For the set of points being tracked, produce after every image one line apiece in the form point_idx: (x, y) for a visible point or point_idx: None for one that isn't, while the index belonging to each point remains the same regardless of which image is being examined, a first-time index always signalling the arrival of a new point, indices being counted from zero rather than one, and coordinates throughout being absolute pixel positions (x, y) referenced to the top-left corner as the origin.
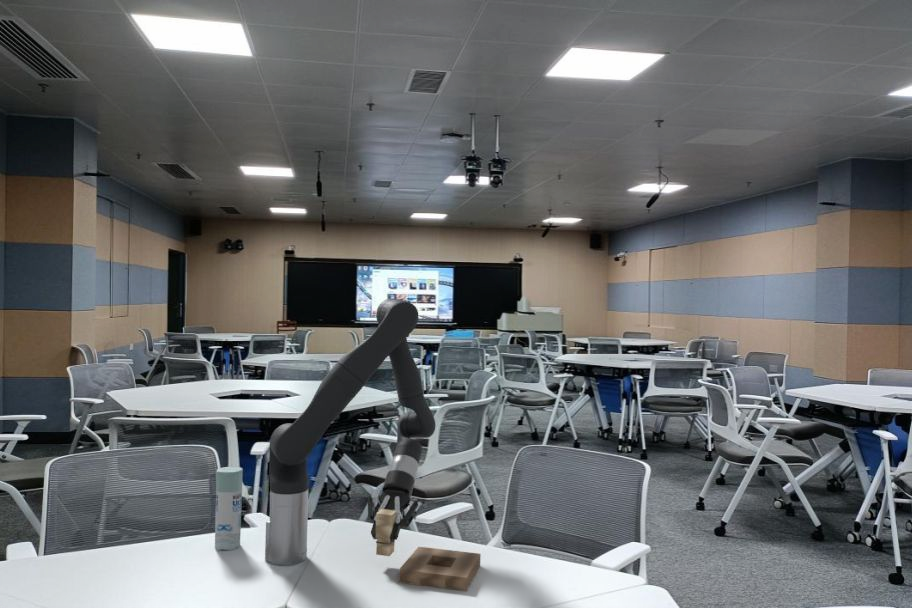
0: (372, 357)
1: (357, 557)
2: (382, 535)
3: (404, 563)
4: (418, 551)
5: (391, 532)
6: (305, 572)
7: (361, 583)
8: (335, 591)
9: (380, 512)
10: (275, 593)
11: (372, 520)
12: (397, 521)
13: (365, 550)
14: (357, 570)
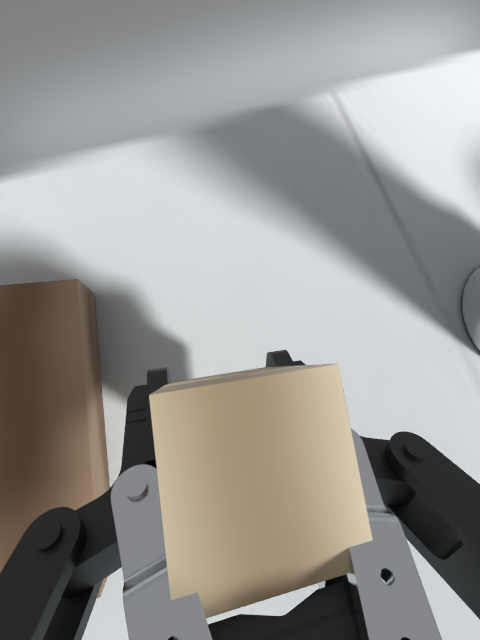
0: None
1: None
2: (226, 374)
3: (79, 346)
4: None
5: None
6: (405, 250)
7: (213, 241)
8: (254, 167)
9: (315, 417)
10: (382, 115)
11: (368, 445)
12: (133, 479)
13: None
14: (280, 327)
